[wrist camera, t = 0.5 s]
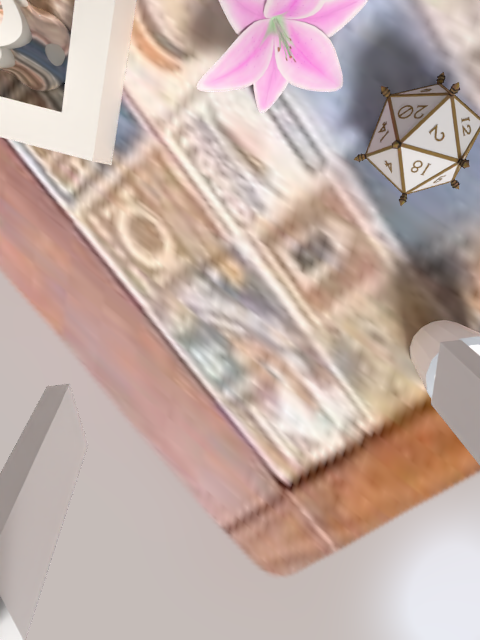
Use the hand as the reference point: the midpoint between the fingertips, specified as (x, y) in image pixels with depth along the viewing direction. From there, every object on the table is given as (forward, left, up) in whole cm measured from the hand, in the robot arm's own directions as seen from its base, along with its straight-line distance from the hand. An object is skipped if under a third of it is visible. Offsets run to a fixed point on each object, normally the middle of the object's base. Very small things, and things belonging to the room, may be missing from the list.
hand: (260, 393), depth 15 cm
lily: (-17, -4, -26) cm, 31 cm away
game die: (-13, +8, -26) cm, 30 cm away
